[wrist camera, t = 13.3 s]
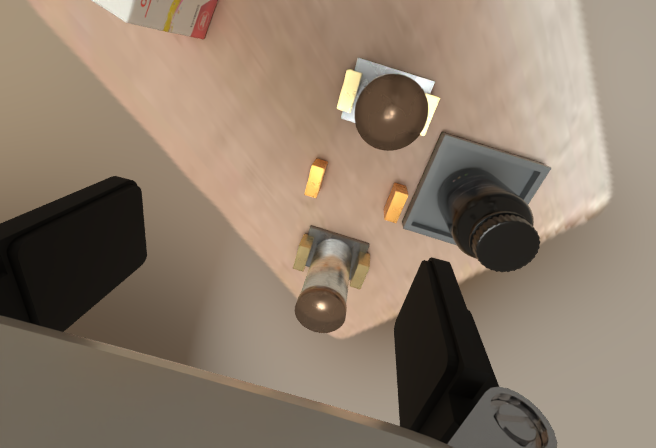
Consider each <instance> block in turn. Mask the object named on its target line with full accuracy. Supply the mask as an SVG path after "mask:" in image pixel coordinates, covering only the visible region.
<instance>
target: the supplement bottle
mask: <svg viewBox="0 0 656 448" xmlns="http://www.w3.org/2000/svg"><path fill="white" fill-rule="evenodd" d="M438 207H439V210H440V212H441V215H442V217H443V219H444V221H445V223H446V225H447V227H448V229H449V231H450V233H451V235H452V237H453V239H454V241H455V243H456V245H457V246H458V247H459V249H460V250H461V251H463V252H464V253H465V254H467V255H469V256H471V257H473V258H476V259H478V261H480V263H481V264H482V265H484V266H485V267H486V268H489V269H490V270H495V271H496V272H497V271H500V272H505V271H507V272H509V271H515V270H516V269H520V268H522V267H523V266H525V265H527V264H528V263H529V262H531V260H532V259H533V258H534V257H535V255H536V254H537V253H538V249H539V244H540V241H539V238H540V237H539V235H538V232H537V231H536V230H535V229H534V227H533V223H534V221H533V214H532V211H531V209H530V207H529V206H528V205H527V203H526V202H525V201H524V200H523V199H522V198H521V197H519V196H518V195H517V194H516V193H515V192H513V191H512V190H511V189H510V188H508V187H507V186H506V185H505V184H504V183H502V182H501V181H500V180H499V179H497V178H496V177H495V176H494V175H492V174H491V173H489V172H487V171H485V170H481V169H465V170H462V171H459V172H457V173H455V174H453V175H452V176H450V177H449V178H448V179H447V180H446V181H445V182H444V183H443V185H442V186H441V188H440V191H439V194H438Z"/></svg>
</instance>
